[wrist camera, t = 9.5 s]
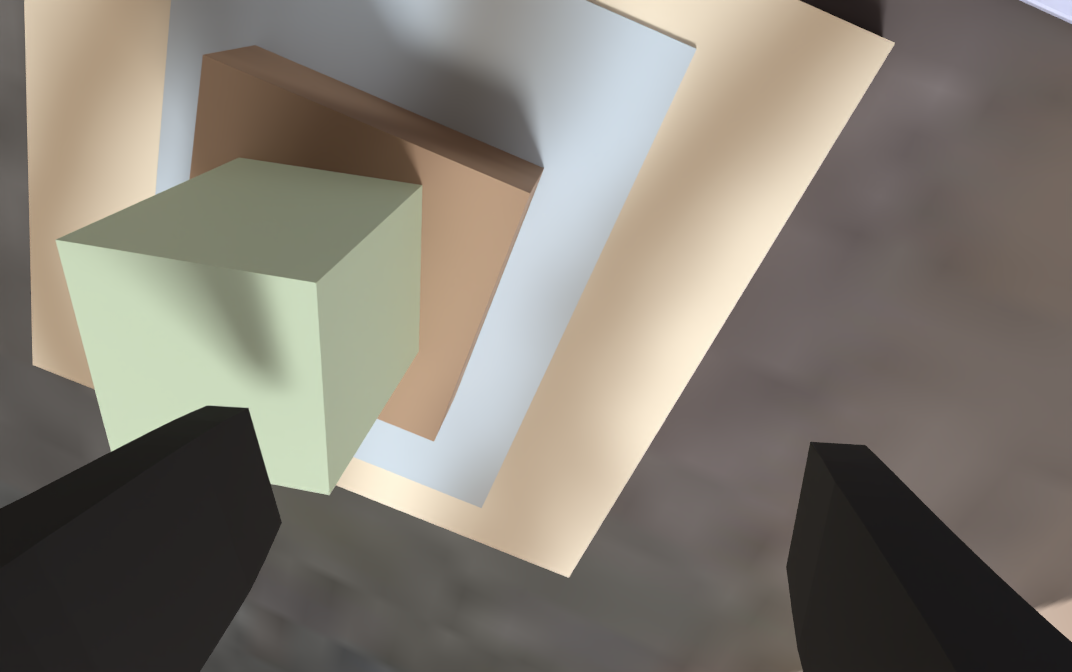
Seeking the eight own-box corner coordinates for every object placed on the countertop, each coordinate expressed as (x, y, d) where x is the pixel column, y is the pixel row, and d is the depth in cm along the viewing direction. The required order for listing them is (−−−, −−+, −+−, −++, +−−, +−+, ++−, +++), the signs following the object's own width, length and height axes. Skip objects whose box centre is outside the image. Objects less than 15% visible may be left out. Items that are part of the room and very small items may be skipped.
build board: (882, 39, 14) (933, 54, 11) (571, 558, 22) (560, 633, 20) (49, -333, 13) (-94, -405, 11) (52, 352, 21) (-28, 402, 19)
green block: (422, 185, 14) (316, 282, 9) (419, 350, 16) (329, 494, 11) (239, 157, 14) (55, 239, 10) (258, 323, 16) (111, 453, 12)
